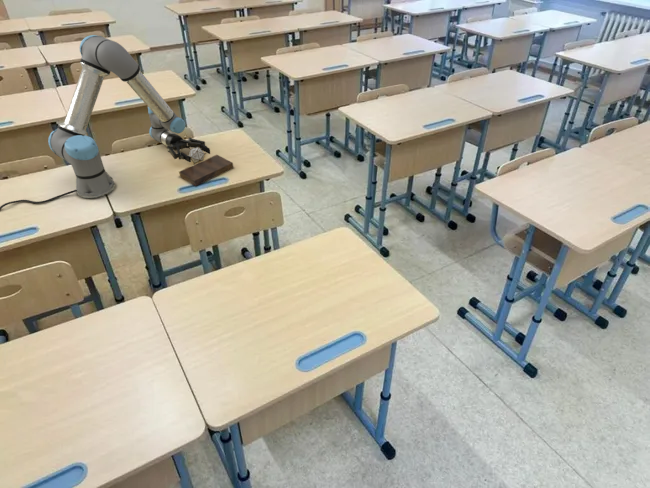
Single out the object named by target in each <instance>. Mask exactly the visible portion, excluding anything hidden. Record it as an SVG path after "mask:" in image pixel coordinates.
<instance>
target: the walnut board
mask: <svg viewBox="0 0 650 488" xmlns="http://www.w3.org/2000/svg"><path fill="white" fill-rule="evenodd" d="M193 164H194V163H193ZM193 164H192V165H189V166H188V167H185V168H183V169H181V170H179V171H178V175H179V178H181V179H183V180H184V181H186V182H188V183H189V184H191V185H192V186H194V187H197V186H199V185H201V184H203V183H205V182H207V181H210V180H212V179H214V178H217V177H219V176H220V175H222V174H224V173H227V172H228V171H230V170H233V169H234V163H233V162H232V161H230V160H229V159H227V158H224V157H223V156H221V155H219V154H215V155H212V156H210V157H208V158H205V159H203V161H201V162H199V163H195V164H194V165H193Z"/></svg>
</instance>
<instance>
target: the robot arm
mask: <svg viewBox="0 0 650 488" xmlns="http://www.w3.org/2000/svg"><path fill="white" fill-rule="evenodd" d="M79 53H80V55H81V57H80V61H79V64H80V65H81V72H80V74H79V77H78V80H77V83H76V85H75V89H74V92H73V94H72V98H71V100H70V104H69V106H68V109H67V113H66V115H65V118H64V121H63V122H60V123H58V125H57V128H56V129H55V130H53V131H51V132H50V134H49V135H48V140H47V141H48V147H49V148H50V150H51V151H52V152H53V153H54V154H55V155H56V156H58V157H59V158H61V159H62V160H64V161H66V162H67V163H68V164H70V165H71V168H72V170H73V172H74V175H75V178H76V179H75V185H76V186H75V189H74V190H71V191H67V192H64V193H62V194H59V195H56V196H53V197H52V198H49V199H45V200H41V201H35V200H30V199H19V200H13V201H12V200H11V201H8V202H6V203H3V204H2V205H1V206H0V211H1V210H2V209H3V208H4V207H6V206H8V205H11V204H16V203H17V204H18V203H23V202H26V203H30V204H44V203H48V202H50V201H53V200H56V199H59V198H60V197H65V196H67V195H70V194H73V193H75V192H76V193H77V195H78V196H79V197H80V198H83V199H97V198H98V199H99V198H102V197H105V196H107V195H109V194H110V193H112V192H113V191H114V189H115V187H116V186H115V182H114V179H113V177H111V176H110V175H109V173H108V172H107V171H106V168H105V166H104V163H103V160H102V156H101V154H100V151H99V147H98V145H97V143H96V141H95V139H94V138H93V137H91V136H89V133H88V131H87V128H88V125H89V123H90V120H91V116H92V113H93V111H94V107H95V105H96V102H97V99H98V96H99V93H100V90H101V88H102V85H103V82H104V79H105V78H107V77H109V76H110V75H111V73H113V74H114V75H115V76H117V77H118V78H119V79H120V80H121V82H124V83H126V84H127V85H128V86H129V87H130V88H131V89H132V90H133V92H134V93H136V95H137V96H138V97H139V99H140V100H141V101H143V103H144V104H145V105H146V106H147V112H148V116H149V121H150V124H151V125H150V127H149V131H148V133H149V136H150V137H151V138H152V139H153V140H154V141H156V142H157V143H160V144H162V145H164V146H166V150H167V153H170V155H171V156H172V157H173V159H174V160H176V159H178V160H184V161H185V162H188V163H192V161H191V158H190V156H189V154H186V153H184V152H182V150H184V149H189V148H190V149H193V148H197V147H198V146H200V147H199V148H200V149H201V150H202V151H203V152H204V153H206V154H209V155H211V148H210V147H208V146H207V145H206V142H205V141H204V140H201V139H197V138H193V137H188V139H184V138H183V137H182V136H181V135H178V134H182V133H183V132H184V130H185V129H186V122H185V120H184V119H183V118H181V117H180V116H178V115H177V114H176V113H175V112H174V110H173V109H172V108H171V107H170V106H169V104H168V103H167V102H166V100H164V98H163V97H162V96H161V94H160V93H159V92H158V91H157V90H156V89H155V87H154V86H153V85H152V83H151V82H150V81H149V80H148V79H147V77H146V76H145V74H143V72H142V71H141V70H142V69H141V66H140V65H139V64H138V63H137V61H136V60H135V58H133V56H132V55H131V54H130V53H129V52H128V50H127V49H126V48H125V47H124V46H123V45H122V44H120V43H119V42H117V41H115V40H111V39H109V38H106V37H104V36H103V35H96V34H91V35H90V34H89V35H87V36H85V37H84V38H83V39H82V40H81V41H80V44H79ZM176 152H177V153H176Z"/></svg>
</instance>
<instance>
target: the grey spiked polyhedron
mask: <svg viewBox="0 0 650 488" xmlns="http://www.w3.org/2000/svg"><path fill="white" fill-rule="evenodd" d="M199 147H200V146H198V147H197V148H188V150H189V151H188V156H190V158H191V163H193V164H192V165H194V164H196V163H199V162H201V161H203V160H205V159H204V158H205V155H207V153H206V152H204V151H202V150H201V148H199Z"/></svg>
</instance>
